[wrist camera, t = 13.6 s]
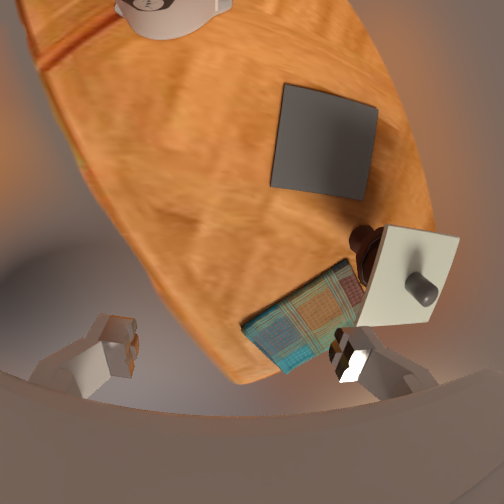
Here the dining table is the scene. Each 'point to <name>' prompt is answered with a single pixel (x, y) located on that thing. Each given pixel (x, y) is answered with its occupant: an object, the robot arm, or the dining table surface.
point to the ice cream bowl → (365, 250)
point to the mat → (323, 144)
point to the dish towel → (307, 318)
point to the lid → (406, 276)
